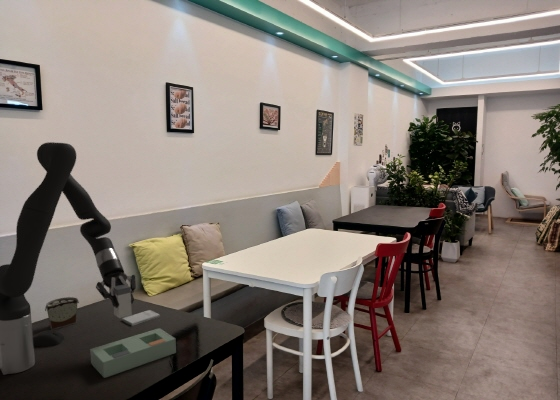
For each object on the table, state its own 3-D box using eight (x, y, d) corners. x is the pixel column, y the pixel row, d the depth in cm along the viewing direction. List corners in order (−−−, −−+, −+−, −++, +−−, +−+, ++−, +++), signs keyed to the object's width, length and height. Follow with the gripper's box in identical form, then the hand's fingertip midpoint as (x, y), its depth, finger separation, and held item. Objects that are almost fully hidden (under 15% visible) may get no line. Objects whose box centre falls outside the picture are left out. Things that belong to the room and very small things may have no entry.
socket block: (104, 378, 129) (103, 361, 129) (91, 363, 138) (90, 348, 138) (176, 352, 145) (175, 338, 144) (160, 341, 154) (159, 327, 153)
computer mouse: (57, 346, 152) (57, 335, 151) (25, 347, 151) (24, 336, 151) (65, 338, 158) (65, 328, 158) (34, 339, 158) (33, 329, 157)
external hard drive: (121, 321, 174) (149, 313, 183) (132, 327, 168) (159, 317, 177) (121, 318, 174) (148, 309, 183) (132, 323, 168) (159, 313, 177)
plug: (119, 318, 145) (117, 289, 144) (114, 314, 148) (112, 286, 147) (131, 314, 148) (130, 286, 147) (126, 311, 151) (125, 284, 150)
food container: (75, 317, 177) (73, 294, 176) (80, 322, 173) (78, 298, 172) (42, 326, 169) (40, 302, 168) (47, 331, 164) (45, 306, 163)
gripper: (91, 261, 147) (106, 304, 139) (131, 254, 156) (147, 294, 149) (86, 273, 151) (101, 315, 144) (125, 266, 161) (141, 305, 153)
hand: (124, 304), depth 146 cm, fingers closed on plug, 4 cm apart
